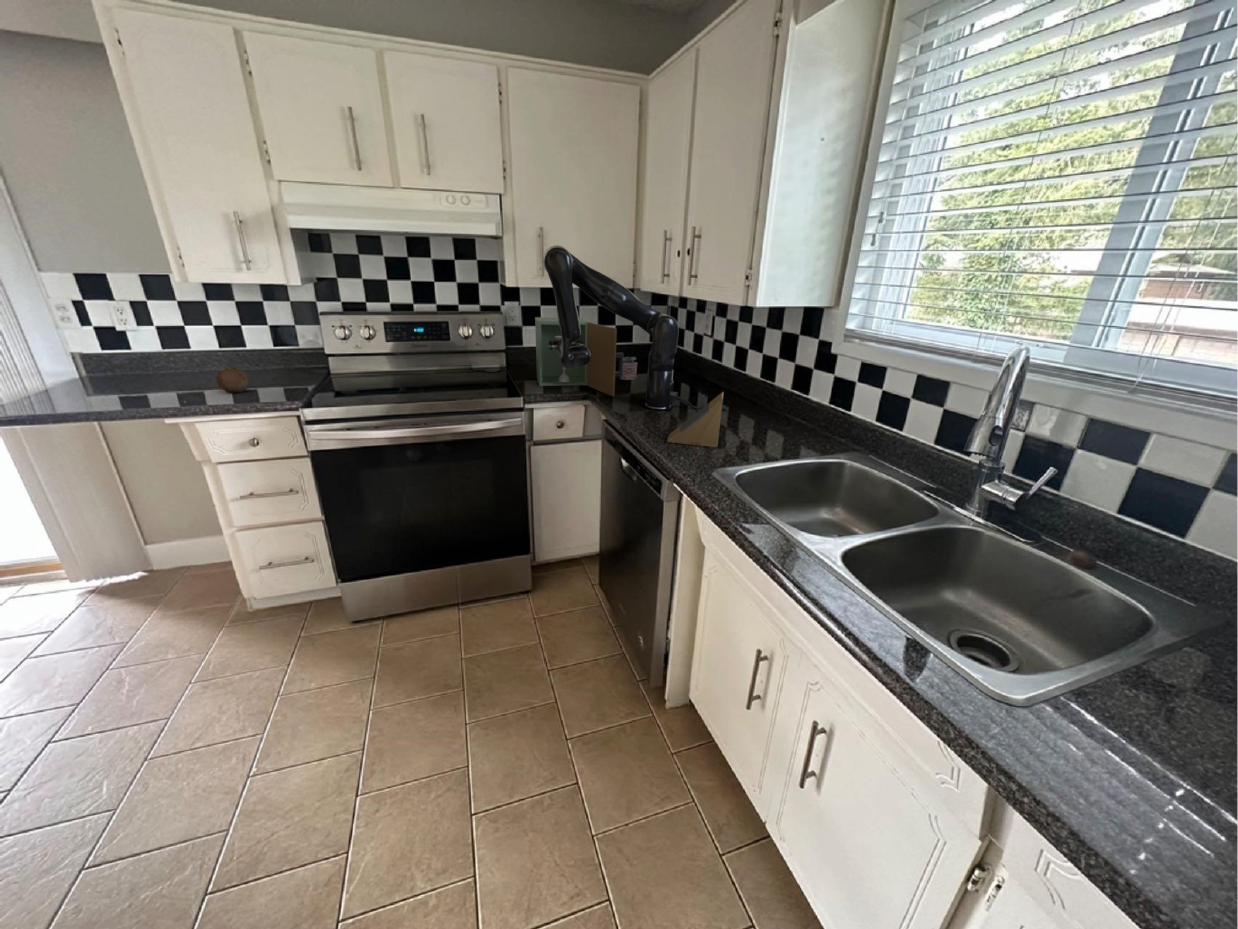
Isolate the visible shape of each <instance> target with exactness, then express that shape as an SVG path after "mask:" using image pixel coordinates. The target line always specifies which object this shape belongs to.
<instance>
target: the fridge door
mask: <svg viewBox="0 0 1238 929" xmlns="http://www.w3.org/2000/svg"><path fill="white" fill-rule="evenodd" d="M617 329H618V328H616V327H610V326H607V325H603V324H599V323H594V322H590V321H588V331H587V347H588V349H589V350H590V353H591V359H590V362H589V363H588V364H587V385H586V387H589V388H592V389H594V390H596V391H598V392H601V393H603V394H606V395H608V396H610V397H615V395H616V392H615V391H616V377H618V378H619V377H620V376H623V358H624V352H617V337H618V336H617V334H618V330H617ZM617 359H618V371H616V368H617V367H616V365H617Z"/></svg>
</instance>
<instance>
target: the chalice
mask: <svg viewBox="0 0 1238 929" xmlns="http://www.w3.org/2000/svg"><path fill="white" fill-rule="evenodd" d="M555 338H556V340H561V336H555ZM556 350H557V353H558V355H559V357H560V359H561V354H560V353H559V351H558V349H556ZM562 370H563V374H562V375H560V378H559V380H558V381H559V382H570V379H569V376H568V375H566V373H565V370H566V368H565V367H564V366H563V368H562Z"/></svg>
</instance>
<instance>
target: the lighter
mask: <svg viewBox="0 0 1238 929" xmlns="http://www.w3.org/2000/svg"><path fill="white" fill-rule="evenodd" d="M637 369H638V362H637V357H636V356H631V357H630V356H626V357H623V376H618V380H622V381H624V380H625V381H634V380H637V379H638V377H637Z"/></svg>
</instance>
